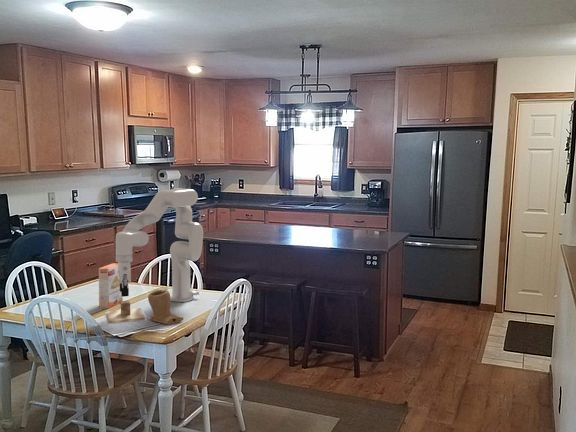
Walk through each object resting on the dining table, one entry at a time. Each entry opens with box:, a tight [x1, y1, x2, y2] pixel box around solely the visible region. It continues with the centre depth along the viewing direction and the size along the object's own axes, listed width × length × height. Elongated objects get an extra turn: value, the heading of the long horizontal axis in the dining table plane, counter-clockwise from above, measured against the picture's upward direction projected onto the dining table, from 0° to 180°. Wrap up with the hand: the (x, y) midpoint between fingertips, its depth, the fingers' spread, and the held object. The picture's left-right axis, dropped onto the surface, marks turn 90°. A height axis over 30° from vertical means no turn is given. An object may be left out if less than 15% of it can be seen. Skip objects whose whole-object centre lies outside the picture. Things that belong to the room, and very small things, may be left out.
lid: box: [106, 300, 146, 324], centre depth 251 cm, size 16×16×7 cm
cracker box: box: [98, 262, 124, 309], centre depth 270 cm, size 14×6×21 cm, turn 168°
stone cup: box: [147, 289, 184, 325], centre depth 245 cm, size 15×12×15 cm
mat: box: [104, 308, 148, 325], centre depth 252 cm, size 18×18×1 cm
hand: (124, 293), depth 250 cm, fingers open, 9 cm apart
